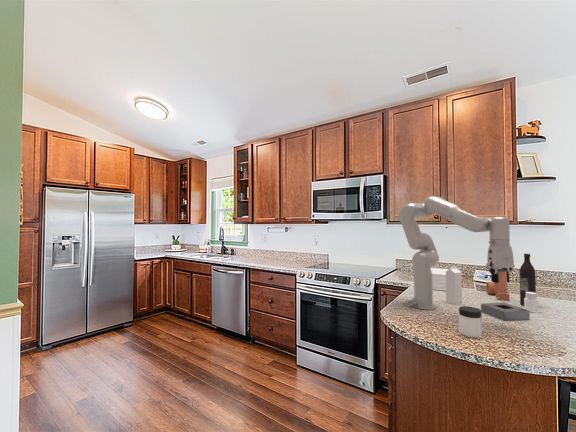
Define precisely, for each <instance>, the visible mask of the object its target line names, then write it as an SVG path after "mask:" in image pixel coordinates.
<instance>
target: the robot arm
mask: <svg viewBox="0 0 576 432" xmlns="http://www.w3.org/2000/svg"><path fill="white" fill-rule="evenodd" d="M434 214H435V215H437V216H440V217H441V218H445V219H446V220H448V221H450V222H452V224H455V225H456V226H458V227H460V228H463V229H464V230H467V231H470V232H473V233H483V232H484V233H486V232H489V241H488V244H489V246H488V248H487V255H486V256H487V260H486V261H487V262H486V264H485V265H484V267H485V268H486V269H487V270H488V271H489V273H490V276H491V277H490V282H495V283H498V274H497V271H498V269H505V270H507V283H510V274H511V272H512V270H513V269H515V266H516V265H515V260H514V258H515V257H514V253H513V252H514V251H513V248H512V246H511V245H510V244H511V243H510V242H511V240H510V219H509V217H506V216H492V217H489V216H488V217H487V216H476V215H474V214H471V213H468V212H467V211H464V210H462V209H461V208H460V207H459V206H458V205H457V204H455V203H452V202H449V201H447V200H446V199H445V198H444V197H441V196H428V197H426V198H425V199H424V201H423V202H422V203H417V202H410V203H409V202H408V203H406V204H404V205H403V206H402V207H401V208H400V211H399V221H400V224H401V225H402V229H403V232H404V236H405V238H406V241H407V243H408V245H409V248H410V249H411V250H418V251H417V252H415V253H414V254H413V256H412V260H411V263H412V264H411V265H412V268H413V286H414V287H413V295H414V297H412V299H406V301H405V302H406V304H410V305H411V306H412V307H413V308H415V309H419V310H426V311H428V310H430V311H433V310H435V309H437V305H435V304H434V295H433V291H434V289H433V286H432V272H431V268H433V267H435V266H437V265H438V263H439V261H440V257H439V253H438V251H437V248H436V245H435V242H434V240H433V238H432V236H430V235H429V234H427V233H425V232H422V231H421V229H420V227H419V224H418V222H417V221H416V219H417V218H418V219H419V218H426V217H428V216H431V215H434ZM415 218H416V219H415ZM494 269H495V270H494Z"/></svg>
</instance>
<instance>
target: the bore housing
mask: <svg viewBox="0 0 576 432" xmlns="http://www.w3.org/2000/svg"><path fill="white" fill-rule="evenodd" d="M480 310H481V314H484V315H488V316H491V317H493V318H496V319H499V320H502V321H504V322H508V321H512V322H513V321H529V320H530V319H531V318H530V315H531V314H530V313H531V312H530V311H529V310H526V309H524V308H523V307H520V306H517V305H513V304H512V303H511V304H510V303H508V302H487V303H483V302H482V303H481V304H480Z"/></svg>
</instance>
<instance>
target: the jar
mask: <svg viewBox="0 0 576 432" xmlns="http://www.w3.org/2000/svg"><path fill="white" fill-rule="evenodd" d="M482 317H483V316H482V312H481V308H477V307H473V306H469V305H468V306H465V305H463V306H459V308H458V333H459V334H460V335H463V336H465V337H469V338H477V339H478V338H479V339H481V338H482V336H483V322H482V319H483V318H482Z"/></svg>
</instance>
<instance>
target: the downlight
mask: <svg viewBox="0 0 576 432" xmlns="http://www.w3.org/2000/svg"><path fill="white" fill-rule="evenodd" d="M525 293H526V298H524V305H523V306H524V308H523V309H526V310H529V311H530V313H532V314H533V313H535V314H538V313H539V314H540V313H541V311H540V310H539V299H537V295H538V294H537V292H536V293H534V292H525Z"/></svg>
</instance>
